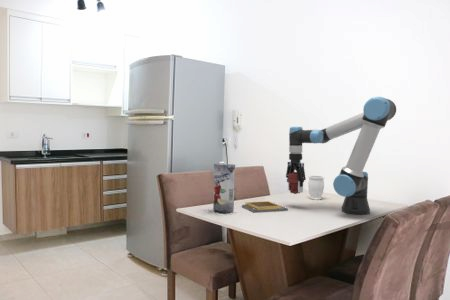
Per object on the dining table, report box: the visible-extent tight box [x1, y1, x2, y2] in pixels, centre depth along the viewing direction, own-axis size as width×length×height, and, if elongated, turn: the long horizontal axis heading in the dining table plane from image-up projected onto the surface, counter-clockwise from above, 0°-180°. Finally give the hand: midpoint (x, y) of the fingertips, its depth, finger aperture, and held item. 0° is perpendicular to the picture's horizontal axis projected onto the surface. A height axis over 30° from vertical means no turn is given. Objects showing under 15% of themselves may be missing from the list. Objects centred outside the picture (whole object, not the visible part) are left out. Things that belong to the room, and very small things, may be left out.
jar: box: [307, 175, 325, 201], centre depth 250 cm, size 11×10×15 cm
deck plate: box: [241, 201, 289, 213], centre depth 211 cm, size 16×21×3 cm
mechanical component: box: [286, 171, 305, 195], centre depth 217 cm, size 12×10×10 cm
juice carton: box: [212, 161, 236, 214], centre depth 200 cm, size 9×10×27 cm
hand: (295, 191), depth 217 cm, fingers closed on mechanical component, 10 cm apart
